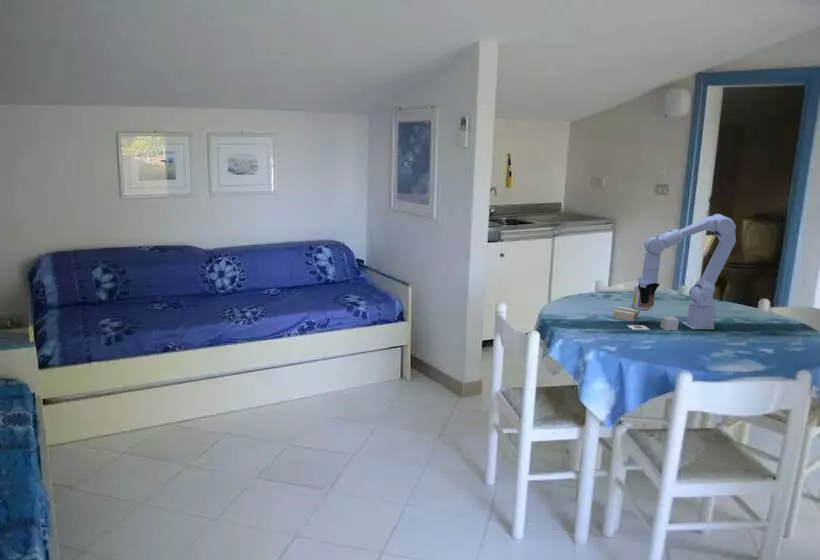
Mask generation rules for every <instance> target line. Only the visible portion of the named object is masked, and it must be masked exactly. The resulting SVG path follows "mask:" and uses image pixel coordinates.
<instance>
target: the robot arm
mask: <svg viewBox="0 0 820 560" xmlns="http://www.w3.org/2000/svg"><path fill="white" fill-rule="evenodd" d="M736 229H737V226H736V224H735V222H734V220H733V219H732V218H731V217H727V216H725V215H723V214H721V213H715V214H713V215H709V216H706V217H704V218H703V219H701V220H699V221H696V222H694V223H692V224H690V225H688V226H685V227H682V228H680V229H678V228H668V230H667V231H665V232H664V233H661V234H656V237H655V236H650V237H648V238H647V239H646V240H645V242H644V244H643V247H644V248H645V254H644V258H643V259H644V260H643V266H642V267H643V268H642V274H641V277H640V276H639V277H638V278H639V280H641V283H640V284H639V285H638V289H639V291H640V296H641V303H644V304H647V303H648V300H649V296H650V294H654V295H655V293H656V291H657V289H658V288H659V286H660V283H658V282H659V270H660V264H661V253H662V252H663V251H664V250H665V249H668V248H670V247H672V246H675V245H678V244H680V243H682V242H683V240H684V238H687V237H690V236H692V235H696V234H698V233H701V232H703V231H704V232H706V231H707V232H714V233H715V235H716V237H717V239H718V243H717V245H716V248H715V249H714V251H713V253H712V256H711V258H710V259H709V261H708V263H707V266H706V267H705V269H704V272H703V273H702V275H701V278H700V279H698V280H696V283H695V284H694V285H693V286H692V287H691V288H690V289H689V291H688V296H689V298H690V301H689V305H688V311H687V312H688V313H687V317H686V321H682V322H681V324H683V325H685V326H686V327H688V328H689V329H691V330H715V320H716V316H717V314H716V313H717V311H716V307H715V306H714V305H713V304H712V303H713V300H714V293H715V290H716V287H715V285H716V282H717V280H718V278H719V276H720V274H721V272H722V271H723V268H724V267H725V265H726V263H727V260H728V259H729V256H730V254H731V252H732V251H733V248H734V247H735V245H736V242H737V239H736V235H737V234H736Z"/></svg>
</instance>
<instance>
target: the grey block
mask: <svg viewBox="0 0 820 560" xmlns="http://www.w3.org/2000/svg"><path fill="white" fill-rule="evenodd" d="M660 319H661V320H660V326H659V327H660V328H661V329H662V328H663V329H662V330H664V331H665V332H670V331H669V330H672V331H671V332H674V331H673V330H677V331H678V329H679V321H680V320H679V319H678V318H677V317H675V316H673V315H668V316H667V315H666V316H665V315H663V316H661V318H660Z"/></svg>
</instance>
